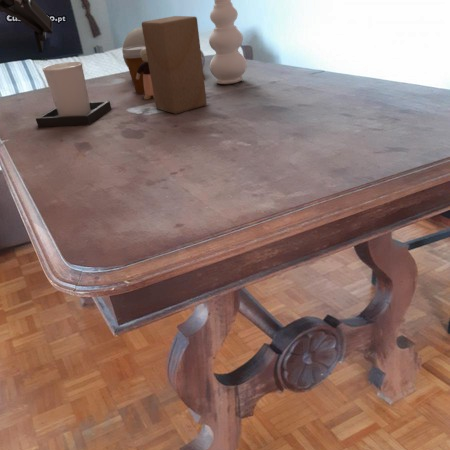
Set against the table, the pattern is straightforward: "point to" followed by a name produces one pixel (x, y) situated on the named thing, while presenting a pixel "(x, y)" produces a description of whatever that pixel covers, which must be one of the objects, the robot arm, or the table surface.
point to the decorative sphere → (133, 39)
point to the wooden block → (175, 63)
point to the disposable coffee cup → (135, 66)
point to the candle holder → (68, 88)
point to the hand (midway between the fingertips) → (8, 42)
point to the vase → (226, 44)
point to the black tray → (55, 120)
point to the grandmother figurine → (145, 75)
